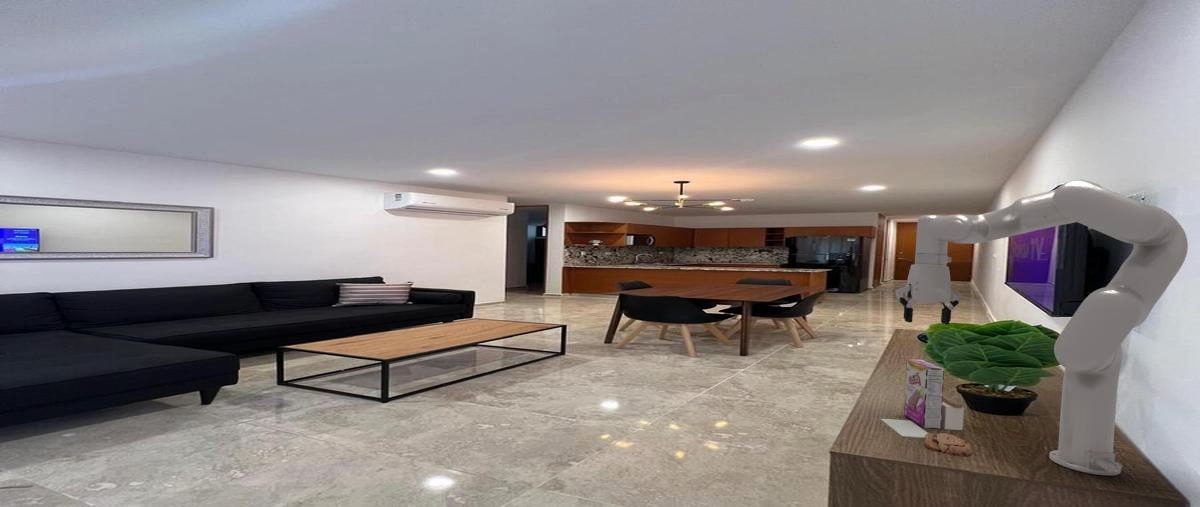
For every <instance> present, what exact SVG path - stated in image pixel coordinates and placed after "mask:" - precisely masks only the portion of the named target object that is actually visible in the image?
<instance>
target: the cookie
mask: <svg viewBox="0 0 1200 507" xmlns="http://www.w3.org/2000/svg"><path fill="white" fill-rule="evenodd" d="M927 433H928V434H926V435H925V438H923V440H924V441H923V442H924V445H925V447H926V449H927V448H928V449H930V450H931V451H937V452H940V453H942V454H945V455H949V456H952V455H953V456H957V457H958V456H959V457H969V456H970V455H972V453H973V448H972V447H971V445H970V443H969V442H967V440H965V439H962V438H959V437H958V436H956V435H954V434H950V433H944V432H940V433H937V434H936V435H935V434H934V433H933V432H927Z"/></svg>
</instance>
